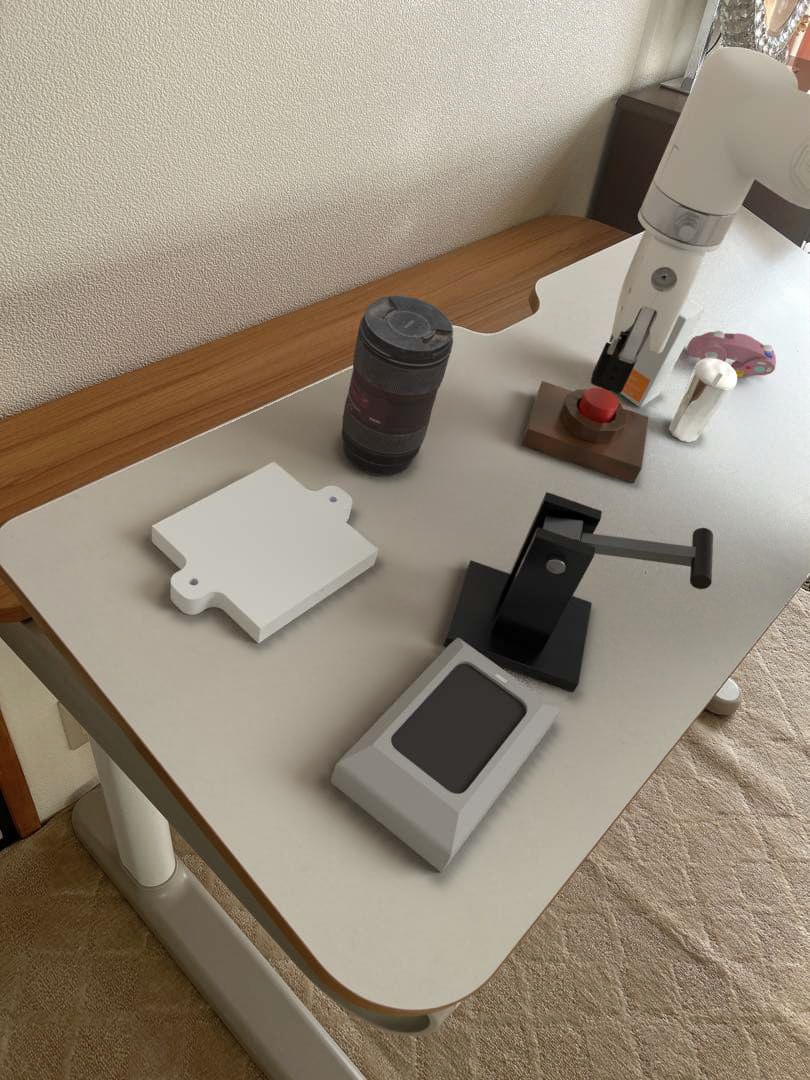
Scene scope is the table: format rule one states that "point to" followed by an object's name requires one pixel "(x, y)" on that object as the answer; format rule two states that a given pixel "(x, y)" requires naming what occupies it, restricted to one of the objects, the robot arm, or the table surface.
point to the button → (598, 404)
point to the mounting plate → (262, 550)
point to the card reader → (444, 751)
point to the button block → (586, 433)
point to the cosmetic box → (660, 358)
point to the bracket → (532, 601)
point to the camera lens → (394, 382)
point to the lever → (646, 548)
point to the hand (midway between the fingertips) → (606, 384)
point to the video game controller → (734, 352)
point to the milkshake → (702, 398)
